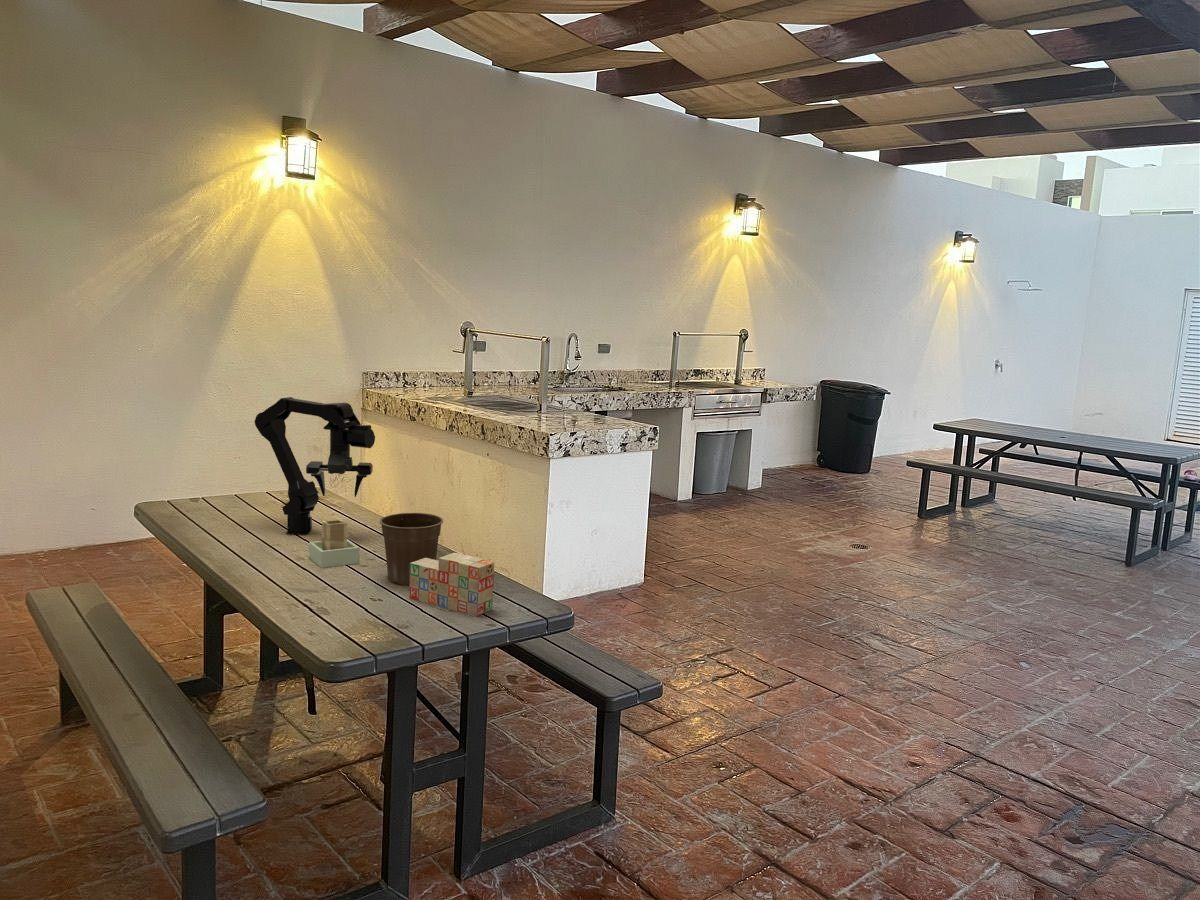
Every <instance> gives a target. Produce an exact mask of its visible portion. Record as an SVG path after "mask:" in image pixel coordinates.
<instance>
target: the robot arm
mask: <svg viewBox="0 0 1200 900" xmlns="http://www.w3.org/2000/svg"><path fill="white" fill-rule="evenodd" d="M291 413H297V414H302V415H308V416H313V417H319V418H321V419H322V420H324V421H325V422H328V423H327V424H326V425H324V426H323V430H329V455H328V456H329V457H328V458H327V459H328V461H327V464H324V463H323V461H315V460H314V461H313V460H311V461H310V462H308V464H307V465H306V466H305V467H306V468H305V473H306V474H310V476H311V477H314V478H315V480H316V481H317V483H318V486H319V489H320V491H321V494H322V496H323V497H325V496H326V483H325V471H326V472H327V473H328V474H330V475H332V474H339V475H344V474H346V472H355V473H357V474H356V476H355V486H354V498H356V497H357V495H358V493H359V489H360V487H361V484H362V481H363V479H365V478H367V477H368V476H371V475H372V473H373V472H374V471H373V470H374V469H373V468H374V467H373V466H374V465H373V464H372V463H371V462H358V464H355V465H354V464H353V457H350V455H351V453H350V452H351V448H350V447H355V448H363V449H372V448H373V446H374V445H375V442H376V441H375V440H376V435H375V432H374V430H373V429H372V425H371V424H365V425H364V424H362V423H361V422H360V420H359V419H358V418H357V416H356V414H355V413H354V409H353V406H352V405H351V404H350V403H348V402H331V403H328V402H327V403H323V402H319V401H318V402H317V401H311V400H304V399H298V398H294V397H290V396H288V397H280V399H278V400H277V401H276V402H275V403H274V404H272V405H270V406H269V407H268V408H266V409H264V411H262V412H259V413H258V414H256V416H255V419H254V425H255V427H256V429H257V431H258V432H259V434H260V435H261V436H262V437H263V438H264V439H265V440H267V441H268V442H269V444H270V447H271V449H272V451H273V453H274V455H275V457H276V459H277V461H278V464H279V466H280V469H281V471H282V473H283V475H284V477H285V479H286V483H287V485H288V487H287V497H288V500H289V501H288V502H287V503H286V504H285V505H284V506H282V512H283V515H285V516H287V522H286V524H287V531H286V532H285V534H286V535H309V533H310V532H312V530H313V517H312V516H311V512H313V511H315V510H314V509H315V507H316V505H317V504H318V501H319V500H320V498H319V497H320V496H319V493H320V492H319V491H318V489H317V487H316V483H315V482H314V481H313V480H312V481H308V480H306V479H305V477H304V475H303V472H302V470H301V469H300V468H301V467H300V466H299V463H298V461H297V459H296V457H295V455H294V452H293V450H292V449H291V445H290V444H289V441H288V439H287V436H286V428H287V426H286V422H285V421H286V420H287V419H288V418H289V417H290V415H291Z"/></svg>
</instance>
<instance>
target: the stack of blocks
mask: <svg viewBox="0 0 1200 900" xmlns="http://www.w3.org/2000/svg"><path fill="white" fill-rule="evenodd" d="M409 574H410V585H409V596H408V597H409V599H412V600H416V601H419V602H422V603H425V602H426V603H425V604H429V603H430V604H429V605H432V604H433V605H434V606H435V607H436V606H437V607H440V608H443V609H444V608H445V609H449V610H452V611H454V612H455V611H456V612H459V613H462V612H463V614H466V613H467V614H466V615H469V614H470V616H473V615H474V616H473V617H480V616H481V614H482V615H483V613H484V614H486V613H488V612H490V611H489V610H491V609H492V610H493V604H494V602H493V601H494V600H493V595H494V583H495V582H494V580H495V562H494V561H491V560H488V559H484V558H481V557H477V556H471V555H466V554H463V553H459V552H458V553H457V552H452V553H449V554H446V555H444V556H441V557H438V560H437V559H436V560H433V559H429V558H423V559H420V560H418V561H415V562H412V563H410V573H409ZM492 610H491V611H492ZM487 611H488V612H487ZM485 612H486V613H485Z"/></svg>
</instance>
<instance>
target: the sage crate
mask: <svg viewBox="0 0 1200 900" xmlns="http://www.w3.org/2000/svg"><path fill="white" fill-rule="evenodd" d="M308 546H309V547H308V558H309V559H310V560H311V561H312V562H313V563H314V564H316V565H317V566H318V567H320V568H321V569H323V568H331V567H338V566H347V565H348V566H349V565H355V564H360V547H359V546H358V545H357V544H355V543H354V542H352V541H351V540H349V539H348V538H347V548H343V549H334V550H325V551H323V550H322V540H319V541H309V542H308Z"/></svg>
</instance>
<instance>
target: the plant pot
mask: <svg viewBox="0 0 1200 900" xmlns="http://www.w3.org/2000/svg"><path fill="white" fill-rule="evenodd" d="M443 523H444V519H443V518H442V517H440V516H438V515H436V514H432V513H425V512H424V513H423V512H399V513H394V514H388V515H385V516H383V517H381V518H380V519H379V524H380V525H381V531H382V533H381V534H382V537H383V540H384V549H385V560H386V569H387V571H386V572H387V579H388V581H389V582H390V583H393V584H395V583H397V584H398V585H400V586H401V585H402V586H410V574H409V573H410V563H412V562H415V561H418V560H420V559H423V558H429V559H433V560H437V555H438V554H437V553H438V545H439V544H438V543H439V538H440V536H441V529H442V524H443Z"/></svg>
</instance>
